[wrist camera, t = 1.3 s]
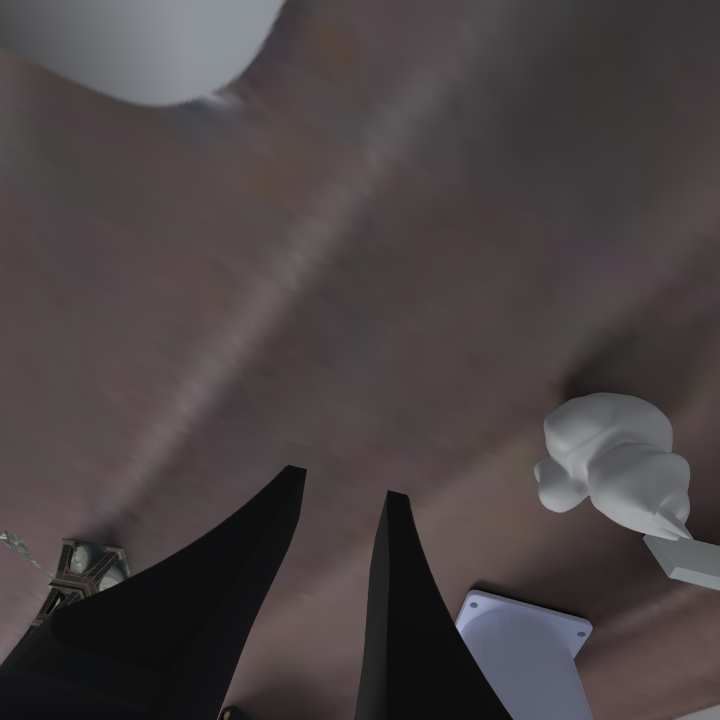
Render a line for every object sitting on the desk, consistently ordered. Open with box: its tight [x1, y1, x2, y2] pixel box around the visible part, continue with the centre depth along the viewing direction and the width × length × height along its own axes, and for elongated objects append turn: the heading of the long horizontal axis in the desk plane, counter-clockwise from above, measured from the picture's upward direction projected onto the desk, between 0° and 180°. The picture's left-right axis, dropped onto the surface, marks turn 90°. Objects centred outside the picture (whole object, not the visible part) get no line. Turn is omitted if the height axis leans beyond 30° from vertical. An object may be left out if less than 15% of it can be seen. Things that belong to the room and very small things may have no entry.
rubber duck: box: [534, 393, 694, 541], centre depth 16 cm, size 5×7×8 cm
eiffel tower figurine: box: [0, 531, 131, 666], centre depth 25 cm, size 15×10×13 cm
